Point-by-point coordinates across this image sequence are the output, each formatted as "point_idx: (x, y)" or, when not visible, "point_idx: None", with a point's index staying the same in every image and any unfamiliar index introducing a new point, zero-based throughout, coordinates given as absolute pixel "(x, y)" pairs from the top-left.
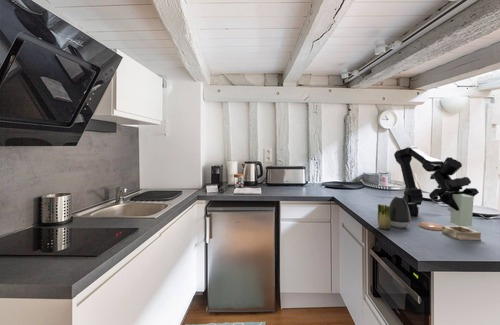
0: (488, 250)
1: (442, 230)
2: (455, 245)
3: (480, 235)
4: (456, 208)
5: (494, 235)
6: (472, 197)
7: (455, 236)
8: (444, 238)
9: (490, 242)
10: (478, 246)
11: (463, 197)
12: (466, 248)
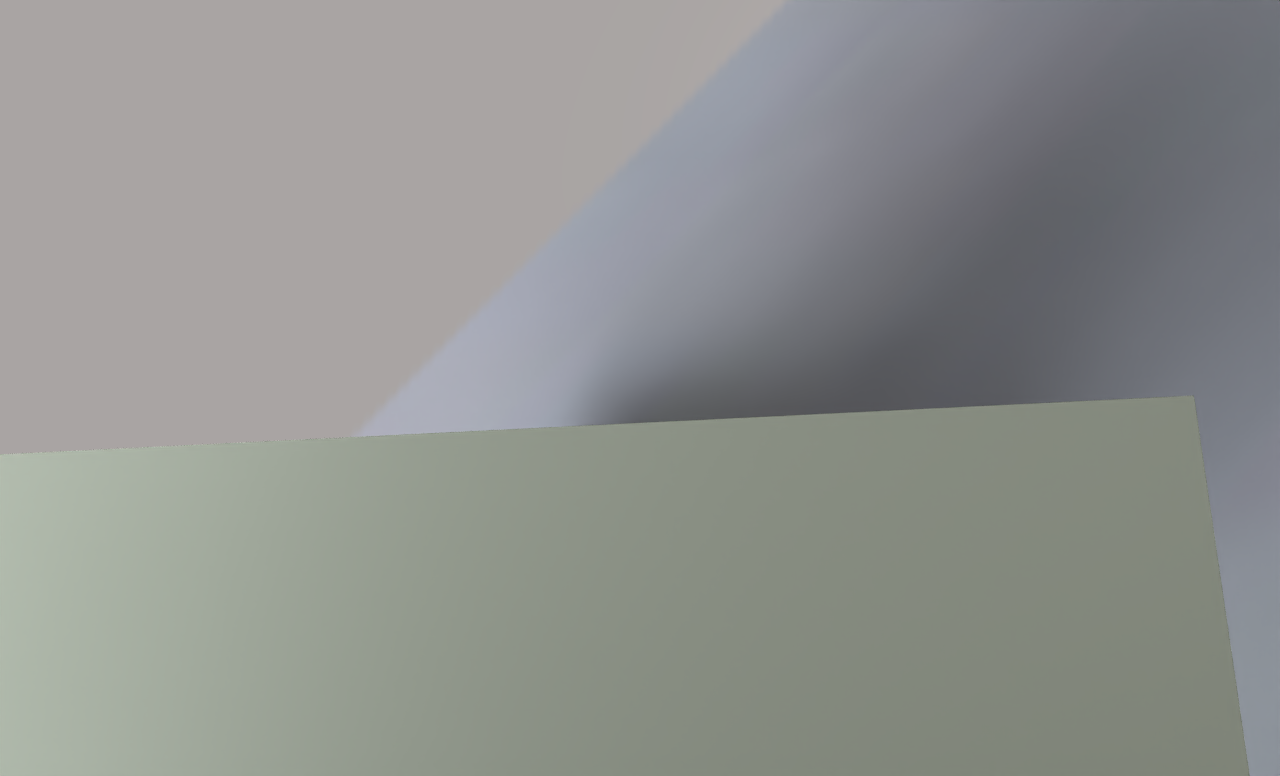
0: (824, 67)
1: None
2: (1253, 235)
3: None
4: None
5: None
6: (56, 461)
7: None
8: (1232, 590)
9: (479, 393)
10: (850, 212)
11: (961, 428)
12: (1141, 118)
